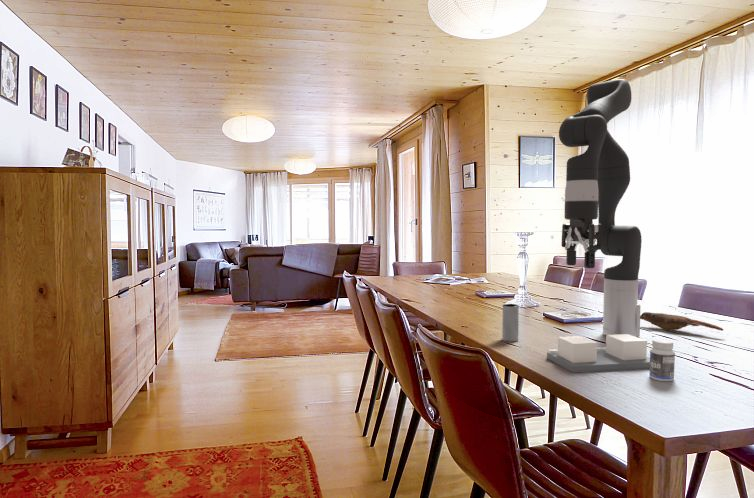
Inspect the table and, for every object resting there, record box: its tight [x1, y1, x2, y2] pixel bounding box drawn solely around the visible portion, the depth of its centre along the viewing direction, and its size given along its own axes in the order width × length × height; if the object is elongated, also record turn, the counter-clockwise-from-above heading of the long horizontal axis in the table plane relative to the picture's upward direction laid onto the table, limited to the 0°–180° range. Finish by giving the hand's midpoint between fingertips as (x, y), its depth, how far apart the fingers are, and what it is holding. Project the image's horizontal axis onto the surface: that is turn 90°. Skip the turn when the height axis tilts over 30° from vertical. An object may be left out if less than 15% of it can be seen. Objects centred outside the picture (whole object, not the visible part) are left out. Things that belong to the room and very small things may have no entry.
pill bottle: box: [649, 338, 676, 382], centre depth 108 cm, size 5×5×8 cm
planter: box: [501, 303, 520, 343], centre depth 144 cm, size 4×4×10 cm
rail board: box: [546, 334, 650, 373], centre depth 120 cm, size 22×12×6 cm, turn 99°
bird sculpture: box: [640, 311, 724, 332], centre depth 155 cm, size 7×25×5 cm, turn 41°
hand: (579, 266), depth 120 cm, fingers open, 8 cm apart
